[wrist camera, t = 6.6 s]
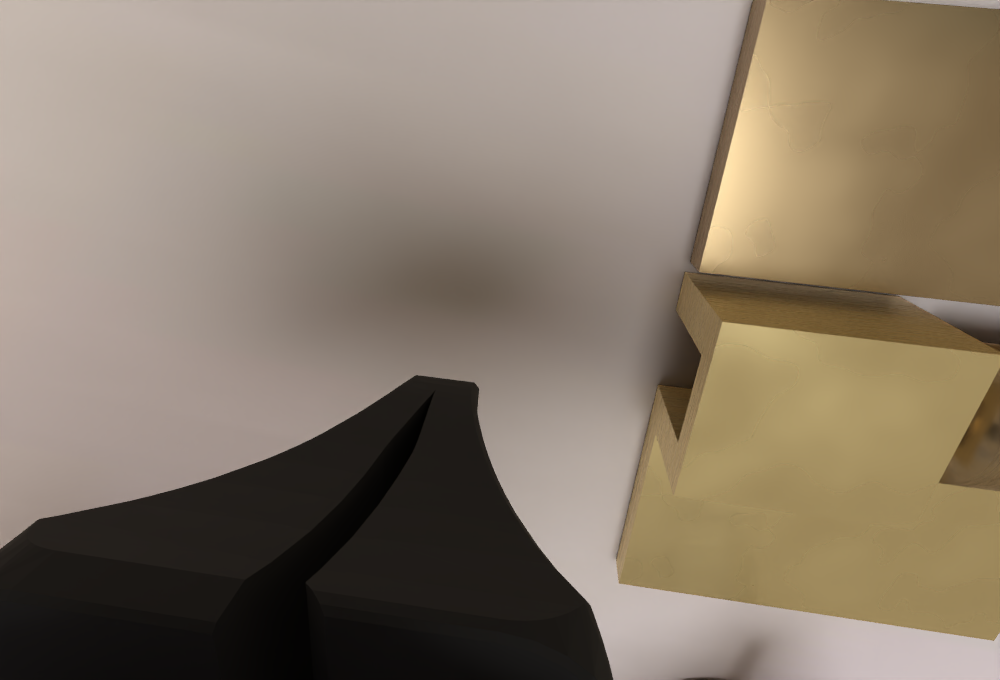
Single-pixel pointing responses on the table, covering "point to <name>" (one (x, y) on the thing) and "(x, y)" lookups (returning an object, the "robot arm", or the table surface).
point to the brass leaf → (818, 461)
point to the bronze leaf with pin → (866, 164)
